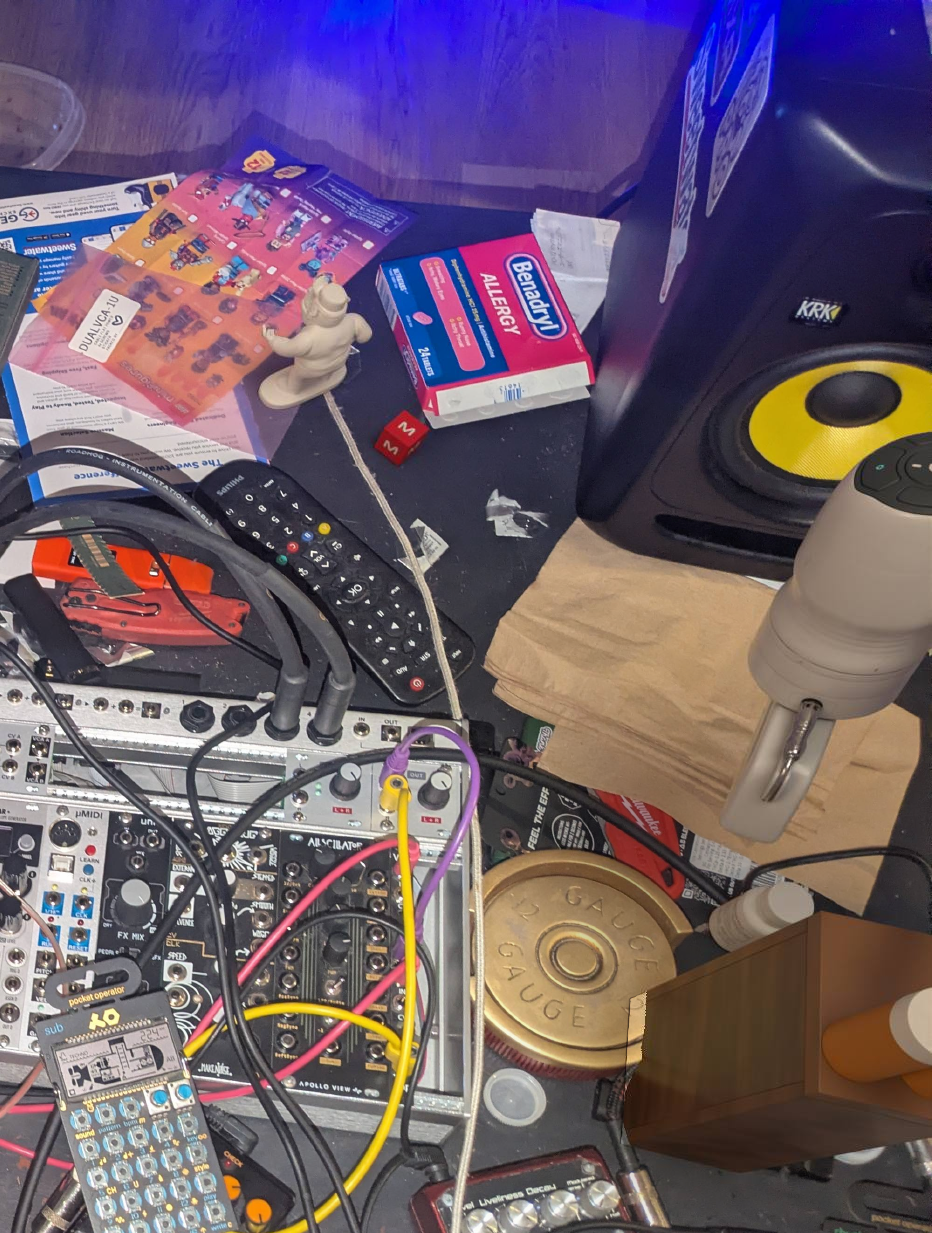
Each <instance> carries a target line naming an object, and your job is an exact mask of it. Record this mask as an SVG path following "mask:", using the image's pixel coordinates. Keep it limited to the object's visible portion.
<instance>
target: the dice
mask: <svg viewBox="0 0 932 1233" xmlns="http://www.w3.org/2000/svg"><path fill="white" fill-rule="evenodd" d="M429 431H430V427H428V426H427V425H425V424H424V423H422V422H421V421H420V420H419V419H417V417H415V416H414V415H412V414H411V413H409V412H408V411H406V410H405V409H404V410H403V411H402V412H400V414H399V415H397V416H396V417H395V418H394V419H392V421H390V422H389V423H388V424H387V425H385V427H383V429H382V431H381V433H380V435H379V437H378V438H377V441H376V443H375V444H374V446H373V447H374V449H375V450H376V451H378V452H379V453H380V454H382V455H383V456H384V457H385V458H387V459H388V460H390V461H391V462H392V463H393V464H395V465H396V466H397V467H400V465H402V464H403V463H404V462H405V461H406V460H407V459H408V458H410V457H411V456H412V455H413V454H415V452H416V451H418V450H419V448H420V447H421V445H422V443H423V441H424V440H425V438H426V436H427V435H428V433H429Z"/></svg>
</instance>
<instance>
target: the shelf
mask: <svg viewBox="0 0 932 1233" xmlns="http://www.w3.org/2000/svg"><path fill="white" fill-rule="evenodd" d="M927 988H932V934H929V933H925V932H921V931H915V930H911V929H906V928H903V927H898V926H895V925H889V924H884V923H879V922H875V921H870V920H865V919H863V918H862V919H861V918H857V917H854V916H853V917H852V916H848V915H843V914H839V913H835V912H834V913H833V912H830V911H825V910H820V911H818V912H815V913H813V914H812V915H811V916H809V917H808V929H807V982H806V1036H805V1089H804V1096H806V1097H810V1098H814V1099H818V1100H822V1101H826V1102H831V1103H835V1104H839V1105H843V1106H848V1107H852V1108H856V1109H860V1110H864V1111H869V1112H873V1113H877V1114H881V1115H886V1116H890V1117H894V1118H898V1119H902V1120H907V1121H911V1122H915V1123H919V1124H923V1125H928V1126H932V1100H931V1099H928V1098H925V1097H923V1096H921V1095H919V1094H918V1093H916V1092H915V1091H913V1090H912V1089H911V1088H910V1087H909V1086H908V1085H907V1084H906V1082H905V1081H904V1080H903V1078H902V1076H901V1075H898V1076H894V1077H890V1078H886V1079H882V1080H878V1081H874V1082H870V1083H860V1082H855V1081H852V1080H849V1079H847V1078H845V1077H843V1076H842V1075H840V1074H839V1073H837V1072H836V1071H835V1070H834V1069H833V1068H832V1067H831V1065H830V1064H829V1063H828V1061H827V1060H826V1058H825V1055H824V1053H823V1049H822V1038H823V1034H824V1032H825V1030H826V1029H827V1027H828V1026H829V1025H830V1024H831V1023H833V1022H835V1021H837V1020H839V1019H842V1018H845V1017H848V1016H851V1015H854V1014H858V1013H861V1012H864V1011H867V1010H870V1009H873V1008H876V1007H879V1006H882V1005H885V1004H888V1003H891V1002H894V1001H897V1000H899V999H901V998H902V997H904V996H906V995H909V994H912V993H915V992H918V991H921V990H924V989H927Z"/></svg>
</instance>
